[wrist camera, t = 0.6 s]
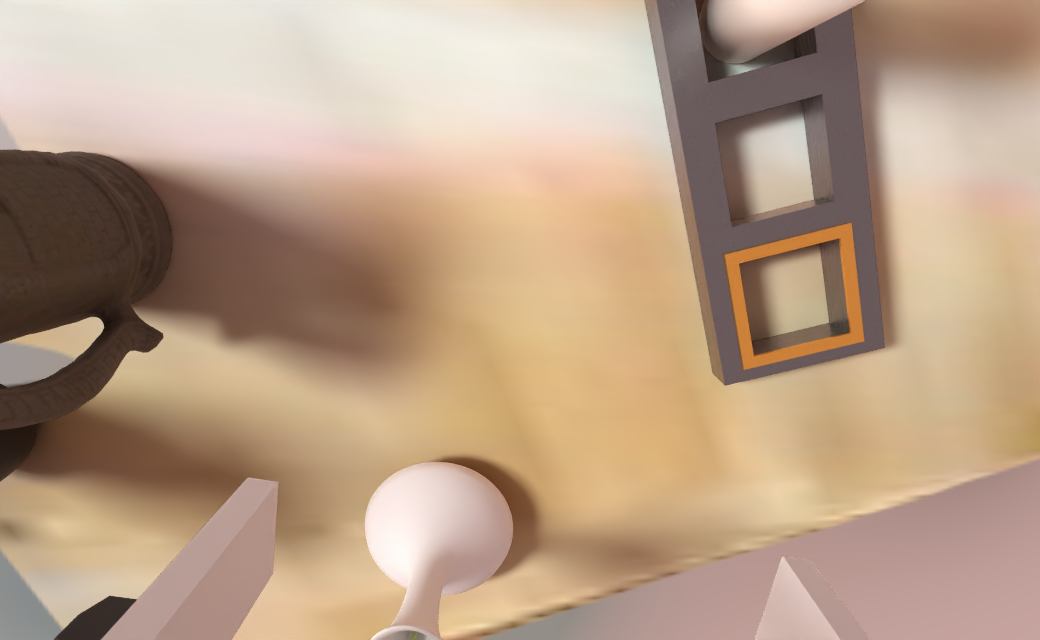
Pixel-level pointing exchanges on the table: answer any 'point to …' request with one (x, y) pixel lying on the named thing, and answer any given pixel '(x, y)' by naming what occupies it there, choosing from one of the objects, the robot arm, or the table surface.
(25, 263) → the beer stein
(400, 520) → the flower in vase
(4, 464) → the cola bottle
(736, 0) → the pin
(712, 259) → the rail
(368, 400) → the table surface
